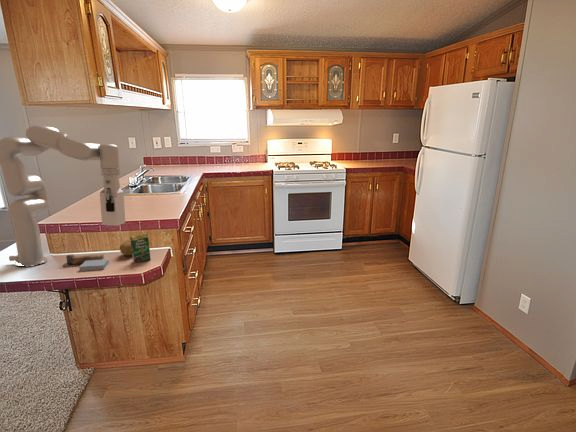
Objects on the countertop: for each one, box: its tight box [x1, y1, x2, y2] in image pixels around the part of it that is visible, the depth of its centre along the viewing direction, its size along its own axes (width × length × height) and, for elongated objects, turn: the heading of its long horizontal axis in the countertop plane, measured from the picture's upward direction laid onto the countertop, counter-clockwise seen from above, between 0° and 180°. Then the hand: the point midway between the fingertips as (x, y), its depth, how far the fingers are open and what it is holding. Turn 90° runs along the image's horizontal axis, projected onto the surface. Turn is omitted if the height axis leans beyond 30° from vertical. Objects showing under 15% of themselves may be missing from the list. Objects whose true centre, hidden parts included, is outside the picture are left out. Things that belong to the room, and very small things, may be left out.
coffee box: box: [130, 233, 151, 263], centre depth 167 cm, size 8×3×13 cm, turn 127°
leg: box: [65, 254, 105, 265], centre depth 164 cm, size 16×3×4 cm, turn 108°
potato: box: [119, 239, 132, 257], centre depth 178 cm, size 10×14×8 cm
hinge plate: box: [62, 262, 81, 268], centre depth 163 cm, size 7×7×1 cm
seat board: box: [78, 258, 110, 272], centre depth 160 cm, size 10×9×2 cm
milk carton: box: [99, 187, 126, 227], centre depth 155 cm, size 7×7×19 cm
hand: (113, 209), depth 156 cm, fingers closed on milk carton, 8 cm apart
